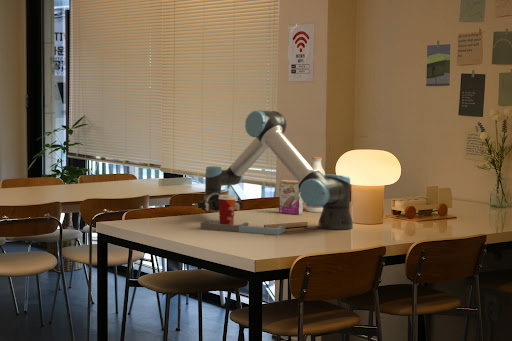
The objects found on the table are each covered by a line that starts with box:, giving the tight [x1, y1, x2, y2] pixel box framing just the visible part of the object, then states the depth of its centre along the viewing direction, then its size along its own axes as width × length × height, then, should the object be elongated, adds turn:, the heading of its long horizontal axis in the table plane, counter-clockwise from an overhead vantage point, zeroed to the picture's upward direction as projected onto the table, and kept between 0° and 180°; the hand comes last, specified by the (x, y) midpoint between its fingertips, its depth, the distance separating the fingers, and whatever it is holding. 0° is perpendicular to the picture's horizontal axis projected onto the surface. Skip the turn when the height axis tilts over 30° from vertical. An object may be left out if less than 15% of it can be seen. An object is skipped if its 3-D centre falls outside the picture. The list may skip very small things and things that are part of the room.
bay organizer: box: [200, 219, 286, 236], centre depth 311 cm, size 34×11×2 cm, turn 72°
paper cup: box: [218, 194, 237, 225], centre depth 315 cm, size 8×8×14 cm
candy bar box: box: [278, 179, 304, 216], centre depth 368 cm, size 11×5×16 cm, turn 62°
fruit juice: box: [305, 156, 326, 213], centre depth 379 cm, size 9×9×28 cm
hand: (223, 207), depth 322 cm, fingers open, 13 cm apart
